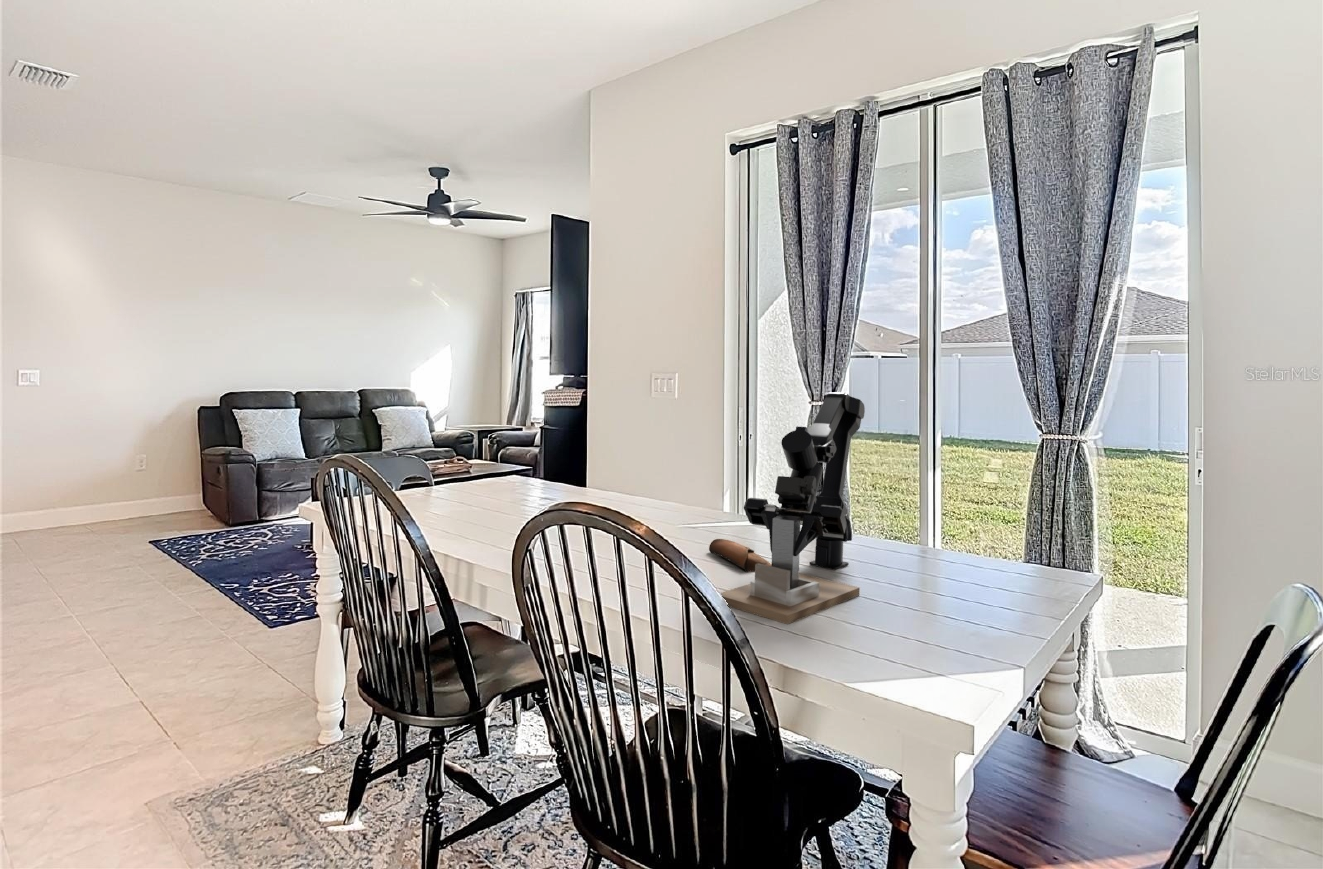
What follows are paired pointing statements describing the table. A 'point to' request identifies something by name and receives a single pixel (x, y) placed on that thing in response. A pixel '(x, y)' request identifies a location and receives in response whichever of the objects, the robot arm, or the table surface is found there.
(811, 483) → the robot arm
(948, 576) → the table surface
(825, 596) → the keeper board
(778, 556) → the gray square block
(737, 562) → the sunglasses case
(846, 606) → the table surface
